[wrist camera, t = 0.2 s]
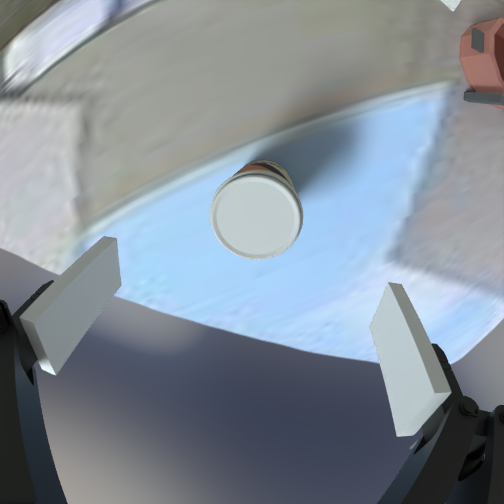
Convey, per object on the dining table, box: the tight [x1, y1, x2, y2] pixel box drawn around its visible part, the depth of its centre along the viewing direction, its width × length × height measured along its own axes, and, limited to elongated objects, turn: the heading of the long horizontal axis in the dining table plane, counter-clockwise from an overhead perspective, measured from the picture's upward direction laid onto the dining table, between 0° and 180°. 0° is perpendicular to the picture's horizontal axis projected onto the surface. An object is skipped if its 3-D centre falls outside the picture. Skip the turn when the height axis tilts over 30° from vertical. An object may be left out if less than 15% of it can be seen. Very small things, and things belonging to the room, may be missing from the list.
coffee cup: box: [210, 160, 303, 260], centre depth 35 cm, size 9×9×12 cm
